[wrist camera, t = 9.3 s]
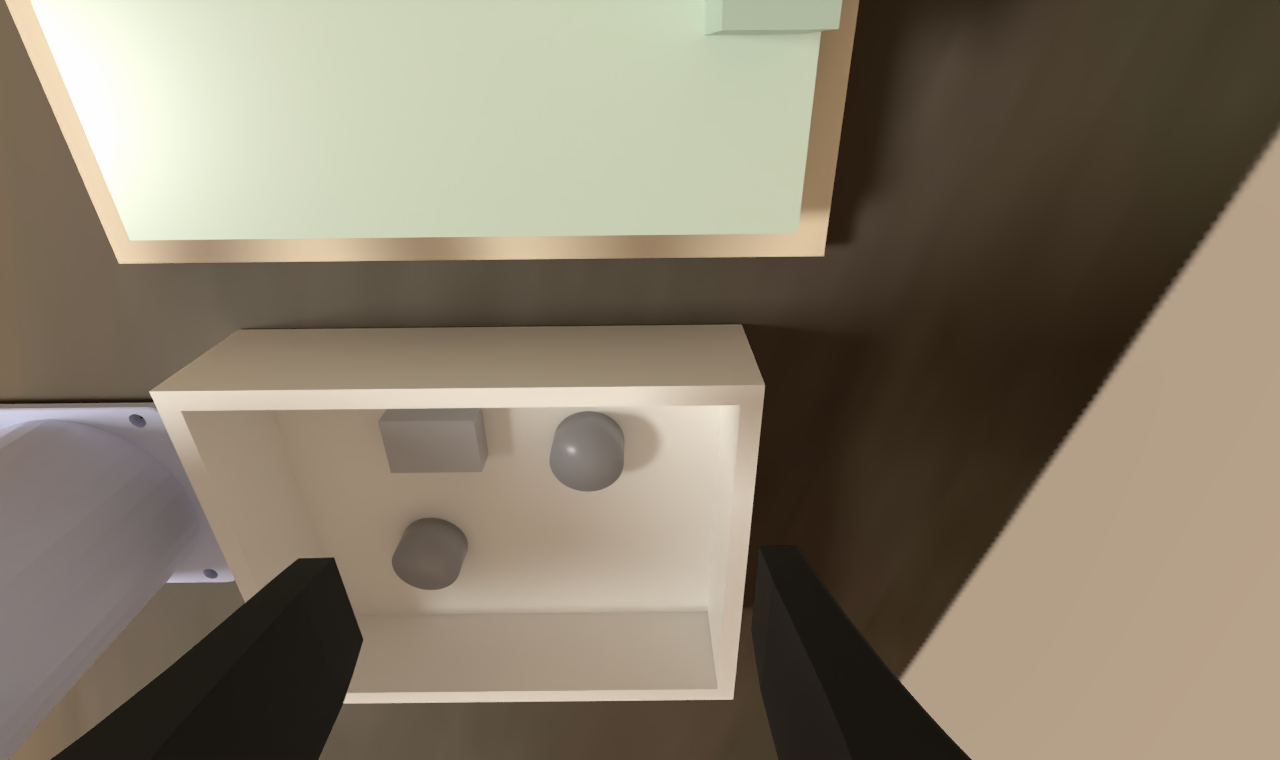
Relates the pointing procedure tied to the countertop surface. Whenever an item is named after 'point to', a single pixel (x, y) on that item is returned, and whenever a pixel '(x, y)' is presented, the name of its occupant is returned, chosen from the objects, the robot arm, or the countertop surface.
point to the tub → (492, 498)
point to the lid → (444, 114)
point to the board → (805, 243)
